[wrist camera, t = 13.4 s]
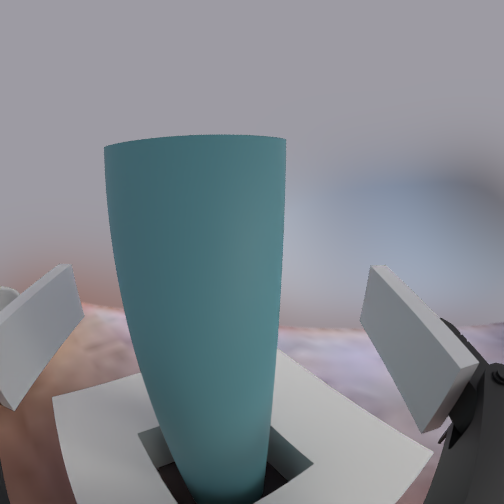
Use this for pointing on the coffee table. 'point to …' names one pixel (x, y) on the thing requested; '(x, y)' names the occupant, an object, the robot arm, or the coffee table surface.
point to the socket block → (279, 448)
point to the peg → (203, 296)
